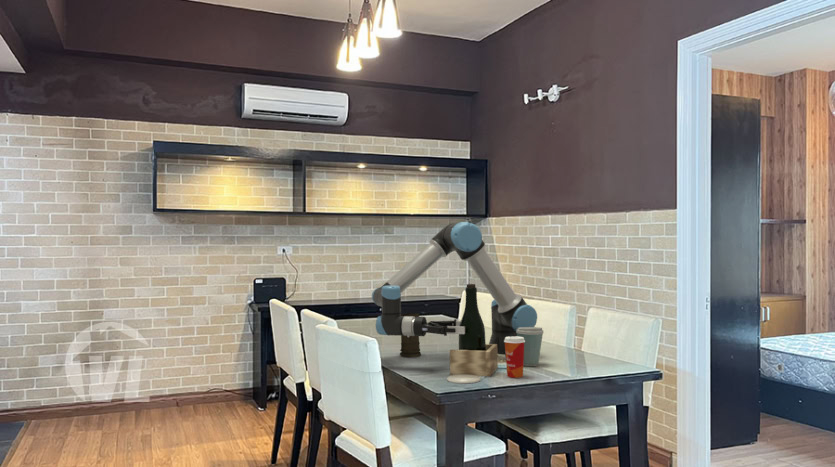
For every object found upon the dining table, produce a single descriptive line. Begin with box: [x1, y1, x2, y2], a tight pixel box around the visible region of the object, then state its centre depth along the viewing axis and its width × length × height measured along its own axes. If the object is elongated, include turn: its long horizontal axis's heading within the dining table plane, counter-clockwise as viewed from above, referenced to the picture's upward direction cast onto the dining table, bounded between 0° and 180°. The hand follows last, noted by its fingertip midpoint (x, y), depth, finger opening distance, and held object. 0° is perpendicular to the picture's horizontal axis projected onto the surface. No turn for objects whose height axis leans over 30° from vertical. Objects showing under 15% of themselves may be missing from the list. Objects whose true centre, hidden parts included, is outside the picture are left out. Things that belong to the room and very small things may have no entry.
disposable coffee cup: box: [516, 326, 544, 367], centre depth 252 cm, size 11×11×15 cm
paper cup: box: [504, 336, 525, 379], centre depth 232 cm, size 8×8×14 cm
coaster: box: [446, 374, 482, 385], centre depth 228 cm, size 12×12×1 cm
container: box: [399, 312, 422, 358], centre depth 275 cm, size 9×9×18 cm
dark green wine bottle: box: [458, 283, 487, 351], centre depth 243 cm, size 10×10×33 cm
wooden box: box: [449, 343, 499, 377], centre depth 242 cm, size 15×16×9 cm
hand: (468, 327), depth 243 cm, fingers open, 13 cm apart
